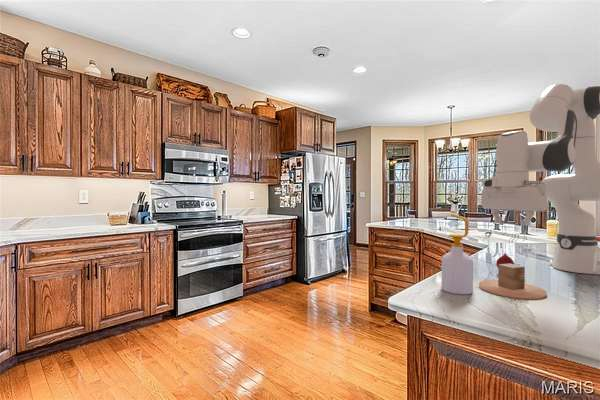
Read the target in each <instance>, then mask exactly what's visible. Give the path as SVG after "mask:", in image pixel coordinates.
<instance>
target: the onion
mask: <svg viewBox="0 0 600 400" xmlns="http://www.w3.org/2000/svg"><path fill="white" fill-rule="evenodd" d="M509 263H510V264H515V261H514V260H513V259H512V257H510V256H508V255H507V253H506V252H505V253H503V255H501V256H500V257H499V258H498V259H497V260H496V265H495V266H496V267H497V268H498V265H499V264H509Z"/></svg>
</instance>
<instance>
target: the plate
mask: <svg viewBox="0 0 600 400" xmlns="http://www.w3.org/2000/svg"><path fill="white" fill-rule="evenodd" d="M478 286H479V287H478V288H479V289H481V290H482V291H484V292H486V293H490V294H492V295H496V296H500V297H504V298H510V299H517V300H518V299H519V300H541V299H546V297H547V294H548V293H547V291H546V290H545V289H544V288H541V287H539V286H536V285H533V284H529V283H525V285H524V289H518V290H510V289H507V288H504V287H501V286H498V279H486V280H482V281H480V282H479V283H478Z"/></svg>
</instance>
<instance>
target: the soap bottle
mask: <svg viewBox="0 0 600 400" xmlns="http://www.w3.org/2000/svg"><path fill="white" fill-rule="evenodd" d="M450 215H451V217H454V218H458V219H461V220H462V221H463V222H464V234H452V233H451V234H448V237H449V238H452V240H454V243H451V250H450V251H449V252H447V253H445V254H444V255H442V258H441V289H442V290H443V291H444V292H446V293H449V294H454V295H459V296H460V295H471V294H473V292H474V260H473V258H472V257H471V256H470V255H469V254H467V253H466V252H464V244H462V243H461V241H462V240H463V238H466V237H467V236H468V234H469V219H468V218H467V217H465V216H462V215H460V214H457V213H451V214H450Z"/></svg>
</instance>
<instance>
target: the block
mask: <svg viewBox="0 0 600 400" xmlns="http://www.w3.org/2000/svg"><path fill="white" fill-rule="evenodd" d="M497 269H498V270H497V271H498V273H497V274H498V277H497V278H498V279H497V280H498V286H501V287H504V288H507V289H510V290H518V289H524V285H525V284H526V283H525V279H526V278H525V276H526V275H525V273H526V267H525V266H523V265H518V264H515V263H514V264H510V263H509V264H499V265H498V267H497Z"/></svg>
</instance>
